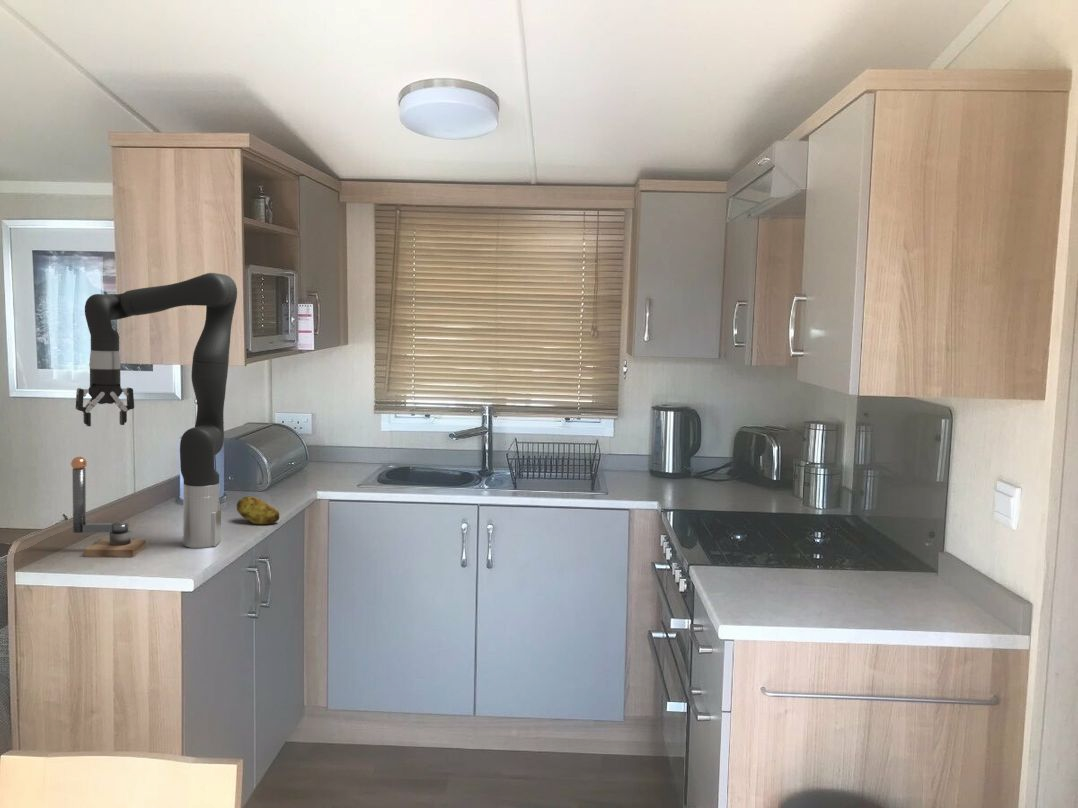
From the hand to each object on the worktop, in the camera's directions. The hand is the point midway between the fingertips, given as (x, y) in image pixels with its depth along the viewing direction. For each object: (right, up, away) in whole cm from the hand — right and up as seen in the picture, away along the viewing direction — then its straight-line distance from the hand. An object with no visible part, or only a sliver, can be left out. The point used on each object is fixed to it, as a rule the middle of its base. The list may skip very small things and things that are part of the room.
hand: (105, 425), depth 228 cm
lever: (+4, -28, -10) cm, 30 cm away
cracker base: (+8, -33, -9) cm, 36 cm away
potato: (+33, -31, +28) cm, 53 cm away
